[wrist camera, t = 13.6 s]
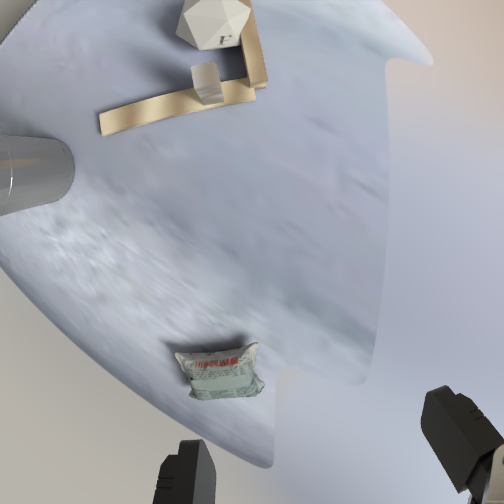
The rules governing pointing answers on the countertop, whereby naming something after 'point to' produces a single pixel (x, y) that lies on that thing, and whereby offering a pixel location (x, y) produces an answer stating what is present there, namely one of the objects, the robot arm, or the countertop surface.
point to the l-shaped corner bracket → (198, 89)
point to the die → (212, 23)
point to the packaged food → (222, 373)
